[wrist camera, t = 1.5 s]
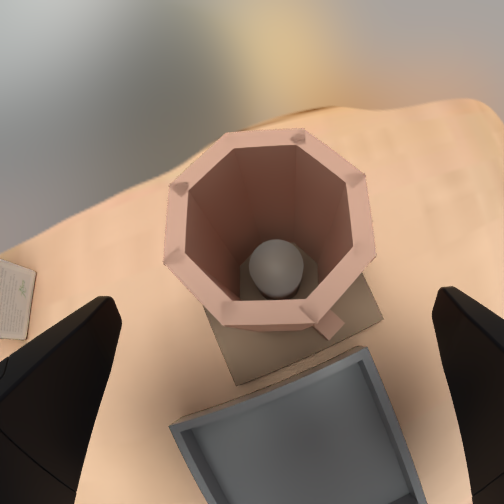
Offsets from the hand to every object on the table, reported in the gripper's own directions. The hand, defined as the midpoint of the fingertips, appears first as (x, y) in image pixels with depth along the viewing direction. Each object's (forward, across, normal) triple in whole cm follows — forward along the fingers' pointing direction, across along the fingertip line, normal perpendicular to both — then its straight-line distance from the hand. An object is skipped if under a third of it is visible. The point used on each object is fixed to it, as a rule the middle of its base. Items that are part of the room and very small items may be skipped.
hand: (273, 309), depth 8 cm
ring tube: (+9, 0, +5) cm, 10 cm away
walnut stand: (+9, 0, +6) cm, 11 cm away
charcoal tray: (+1, -1, +14) cm, 14 cm away
